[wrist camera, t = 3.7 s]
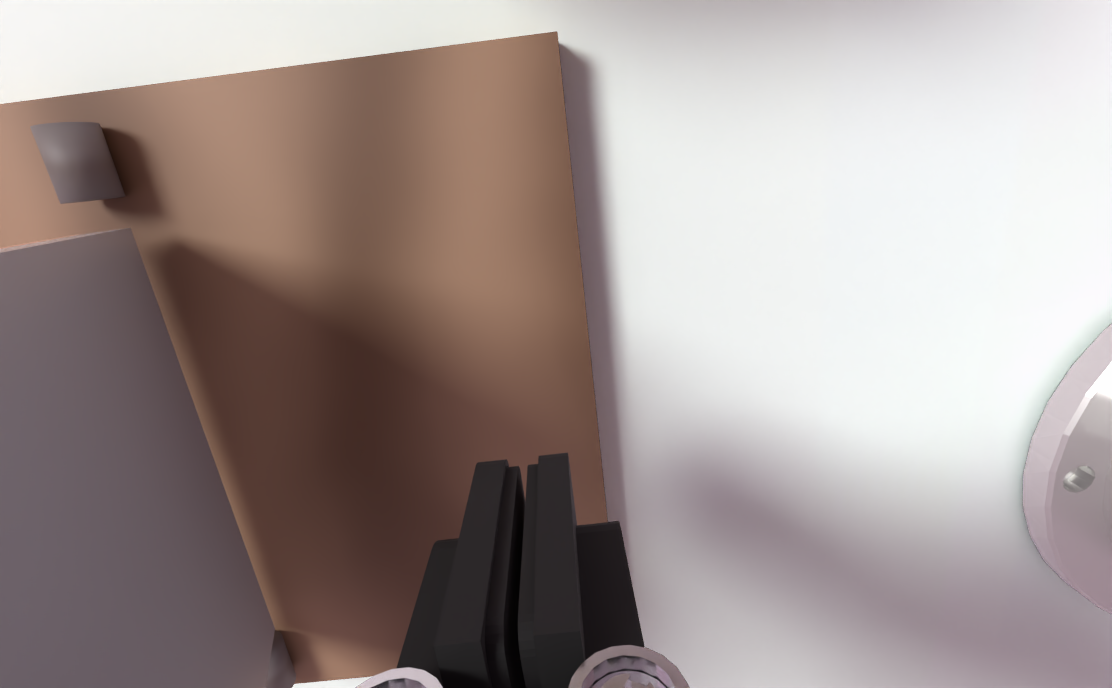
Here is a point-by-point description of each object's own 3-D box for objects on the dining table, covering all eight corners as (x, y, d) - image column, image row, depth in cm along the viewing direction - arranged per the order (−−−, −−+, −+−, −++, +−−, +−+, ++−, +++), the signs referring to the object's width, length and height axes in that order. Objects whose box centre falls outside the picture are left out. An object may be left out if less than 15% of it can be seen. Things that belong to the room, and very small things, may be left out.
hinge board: (556, 41, 13) (557, 18, 11) (617, 627, 19) (625, 685, 17) (-392, 164, 14) (-561, 164, 12) (-55, 693, 19) (-127, 757, 17)
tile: (-398, 329, 4) (-686, 370, 3) (190, 1162, 7) (86, 1222, 7) (130, 227, 13) (68, 235, 12) (275, 628, 16) (231, 643, 16)
